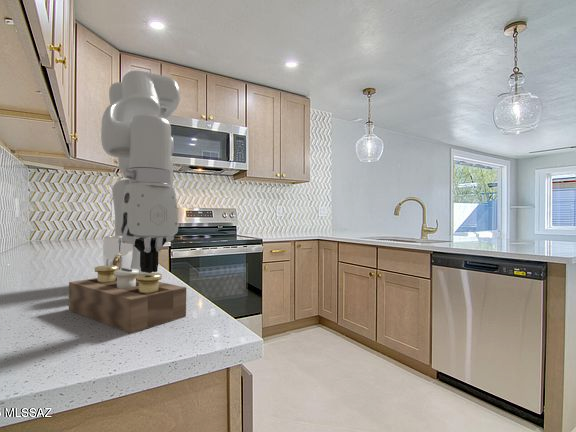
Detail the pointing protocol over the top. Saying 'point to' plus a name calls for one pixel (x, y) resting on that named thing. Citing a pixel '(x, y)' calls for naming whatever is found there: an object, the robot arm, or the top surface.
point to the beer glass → (117, 252)
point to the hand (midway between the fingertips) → (149, 271)
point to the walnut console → (127, 304)
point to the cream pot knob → (126, 277)
